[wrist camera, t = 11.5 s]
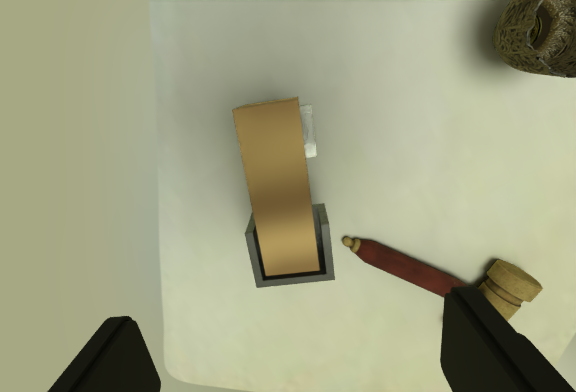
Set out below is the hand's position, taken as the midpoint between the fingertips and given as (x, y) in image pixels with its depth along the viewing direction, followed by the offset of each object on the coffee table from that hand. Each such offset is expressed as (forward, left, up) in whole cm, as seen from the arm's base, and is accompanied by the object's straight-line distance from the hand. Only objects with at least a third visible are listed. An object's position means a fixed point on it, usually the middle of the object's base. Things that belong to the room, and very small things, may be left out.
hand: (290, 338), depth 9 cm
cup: (-9, +20, -23) cm, 31 cm away
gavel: (+15, +13, -23) cm, 30 cm away
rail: (0, -1, -16) cm, 16 cm away
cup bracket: (+5, -1, -22) cm, 23 cm away
